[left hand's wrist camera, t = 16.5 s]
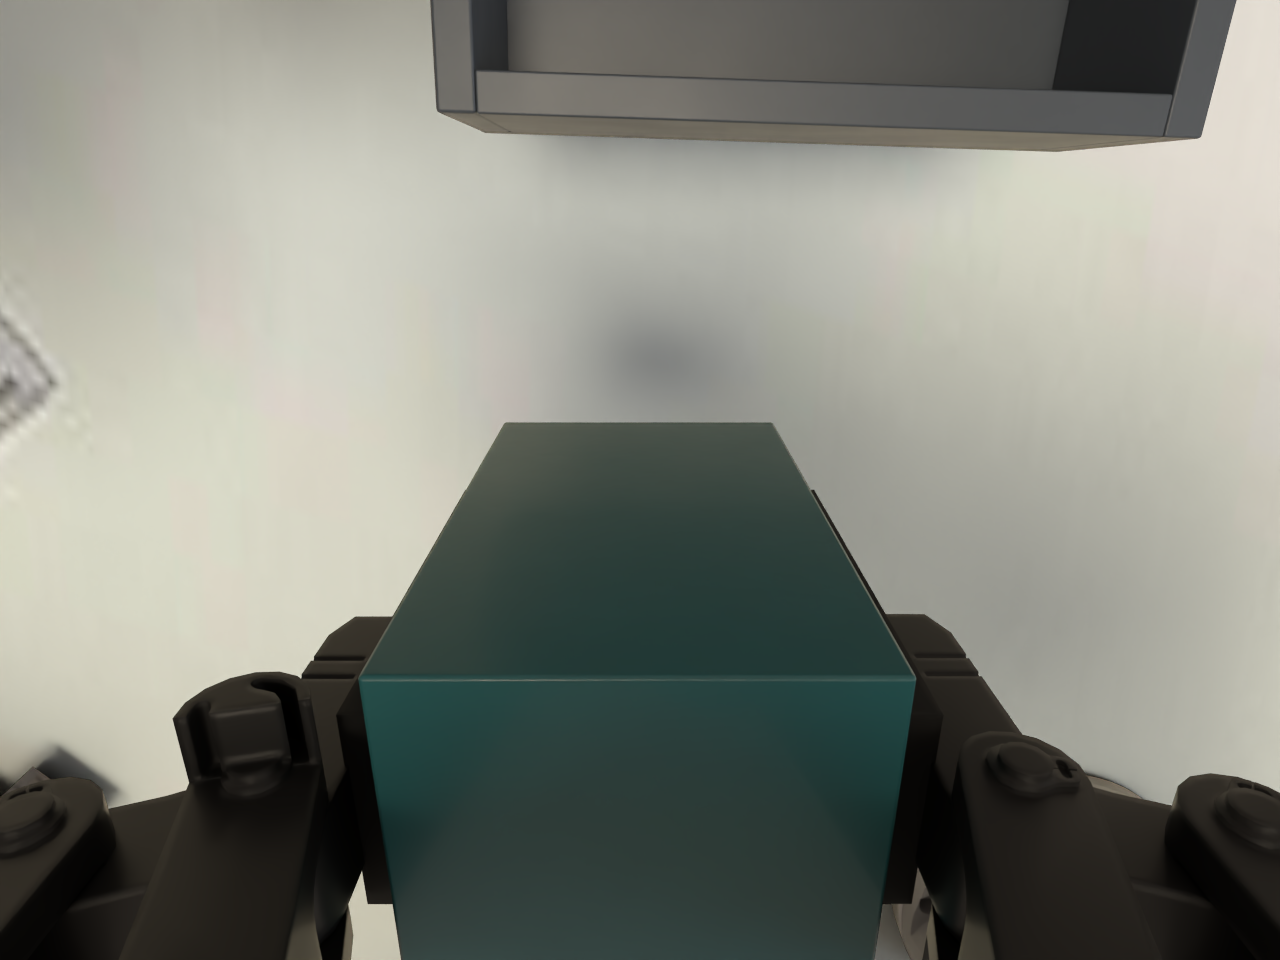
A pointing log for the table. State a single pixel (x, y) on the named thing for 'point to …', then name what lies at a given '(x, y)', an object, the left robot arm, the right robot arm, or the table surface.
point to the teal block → (637, 710)
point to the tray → (834, 70)
